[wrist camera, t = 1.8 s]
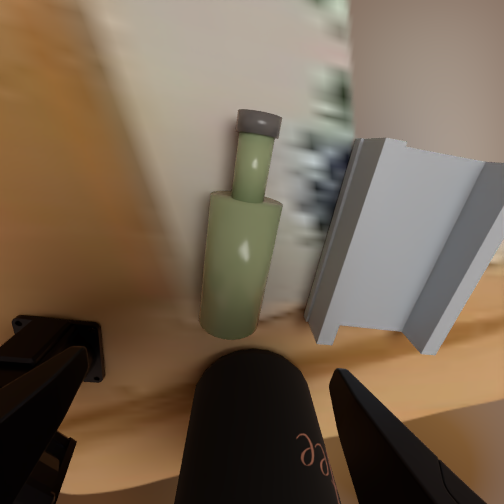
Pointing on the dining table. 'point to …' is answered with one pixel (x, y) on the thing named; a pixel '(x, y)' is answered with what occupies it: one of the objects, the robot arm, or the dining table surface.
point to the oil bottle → (241, 234)
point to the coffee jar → (254, 436)
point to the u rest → (406, 242)
